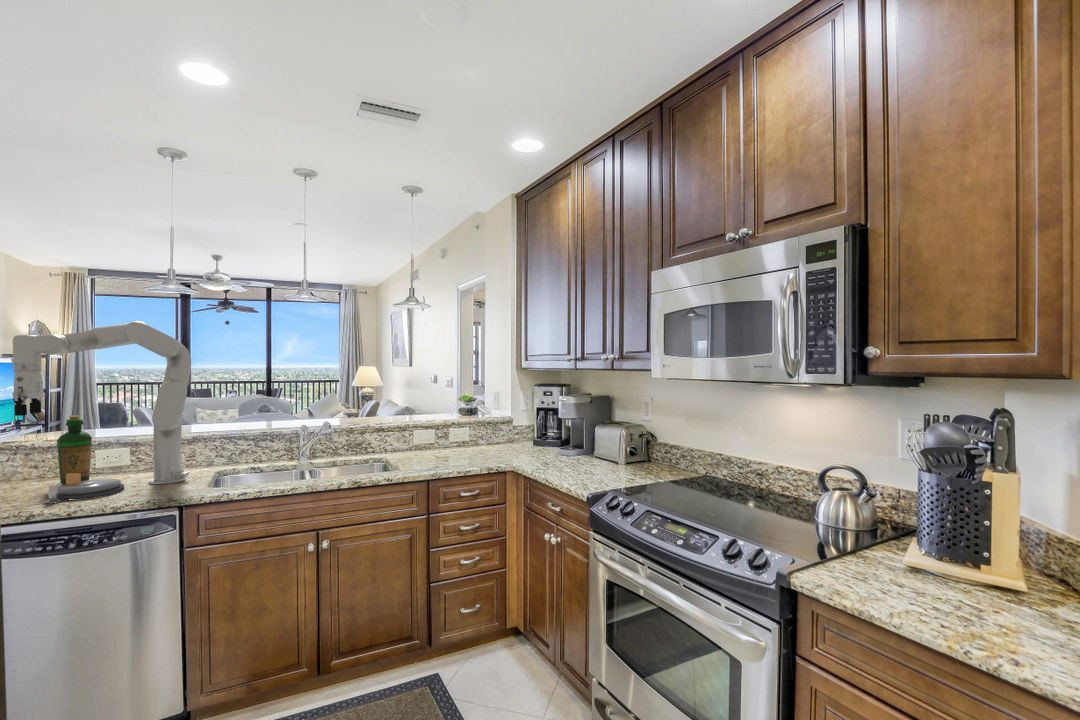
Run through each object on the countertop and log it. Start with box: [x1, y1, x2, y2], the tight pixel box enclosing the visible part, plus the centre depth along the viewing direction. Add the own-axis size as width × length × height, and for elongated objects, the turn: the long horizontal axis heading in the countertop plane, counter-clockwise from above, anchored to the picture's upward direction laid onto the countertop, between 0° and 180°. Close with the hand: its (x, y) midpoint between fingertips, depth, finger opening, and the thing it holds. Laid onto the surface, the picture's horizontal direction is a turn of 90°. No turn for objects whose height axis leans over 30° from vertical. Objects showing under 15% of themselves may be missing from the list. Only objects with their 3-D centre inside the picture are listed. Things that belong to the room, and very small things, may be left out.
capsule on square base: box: [42, 482, 64, 503], centre depth 186 cm, size 5×4×6 cm
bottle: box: [56, 415, 93, 485], centre depth 211 cm, size 11×11×28 cm
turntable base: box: [58, 483, 125, 500], centre depth 198 cm, size 21×21×2 cm
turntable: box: [58, 473, 122, 495], centre depth 198 cm, size 19×19×6 cm
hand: (28, 414), depth 194 cm, fingers open, 9 cm apart
